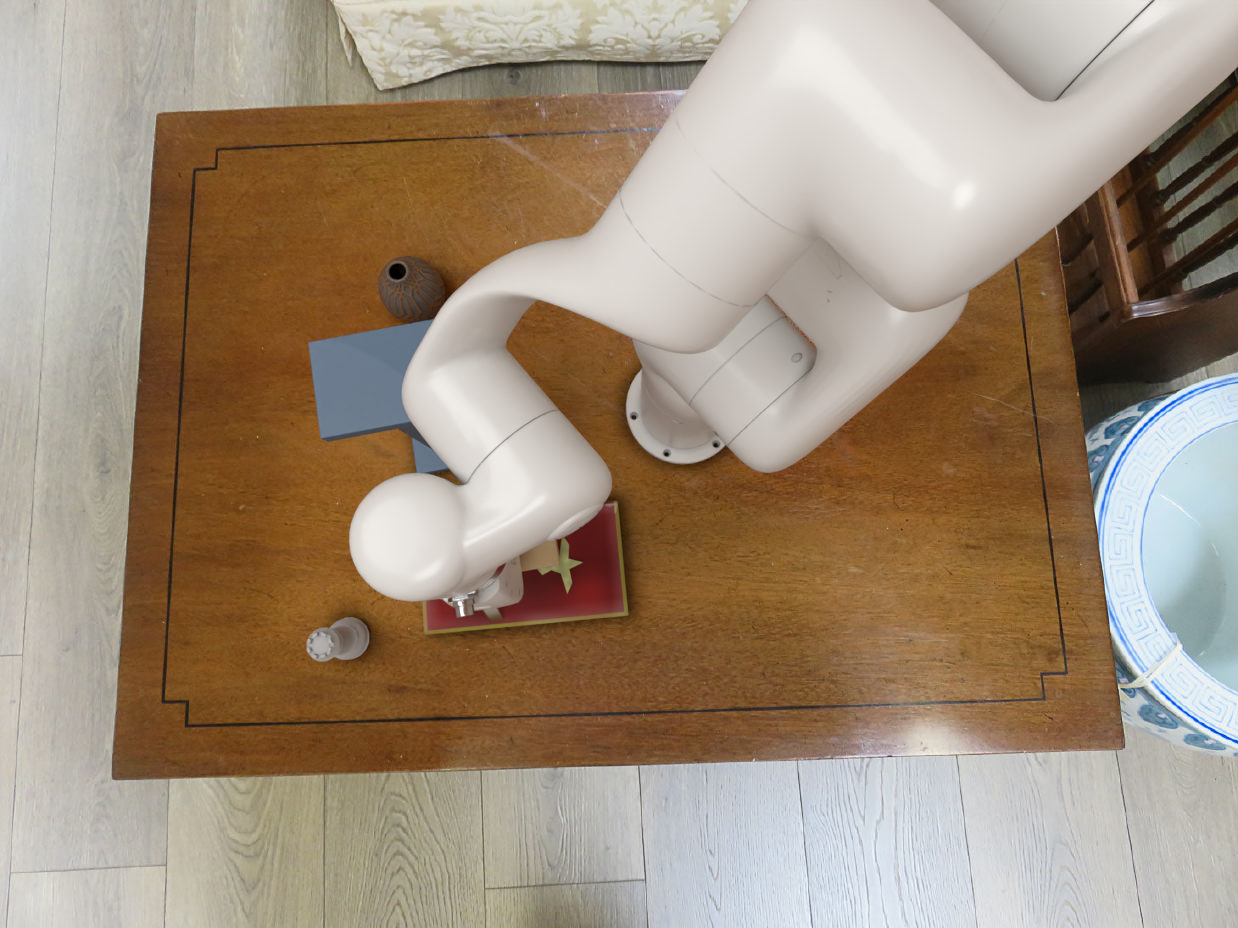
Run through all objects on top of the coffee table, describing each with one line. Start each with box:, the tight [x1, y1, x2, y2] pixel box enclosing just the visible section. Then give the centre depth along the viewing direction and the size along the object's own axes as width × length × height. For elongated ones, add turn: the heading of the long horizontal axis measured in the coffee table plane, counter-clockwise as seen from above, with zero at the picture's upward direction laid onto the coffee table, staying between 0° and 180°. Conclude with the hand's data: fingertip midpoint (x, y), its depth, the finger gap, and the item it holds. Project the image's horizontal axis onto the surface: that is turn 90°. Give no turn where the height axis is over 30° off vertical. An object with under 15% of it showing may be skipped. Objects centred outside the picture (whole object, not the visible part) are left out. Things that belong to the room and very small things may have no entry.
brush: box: [519, 540, 561, 572], centre depth 70 cm, size 11×4×10 cm, turn 100°
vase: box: [377, 255, 446, 324], centre depth 79 cm, size 7×7×9 cm
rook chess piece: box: [306, 616, 370, 663], centre depth 74 cm, size 4×4×8 cm
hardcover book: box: [421, 500, 629, 636], centre depth 77 cm, size 12×21×4 cm, turn 95°
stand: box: [307, 318, 451, 475], centre depth 69 cm, size 14×8×24 cm, turn 101°
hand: (500, 552), depth 71 cm, fingers closed on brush, 2 cm apart
